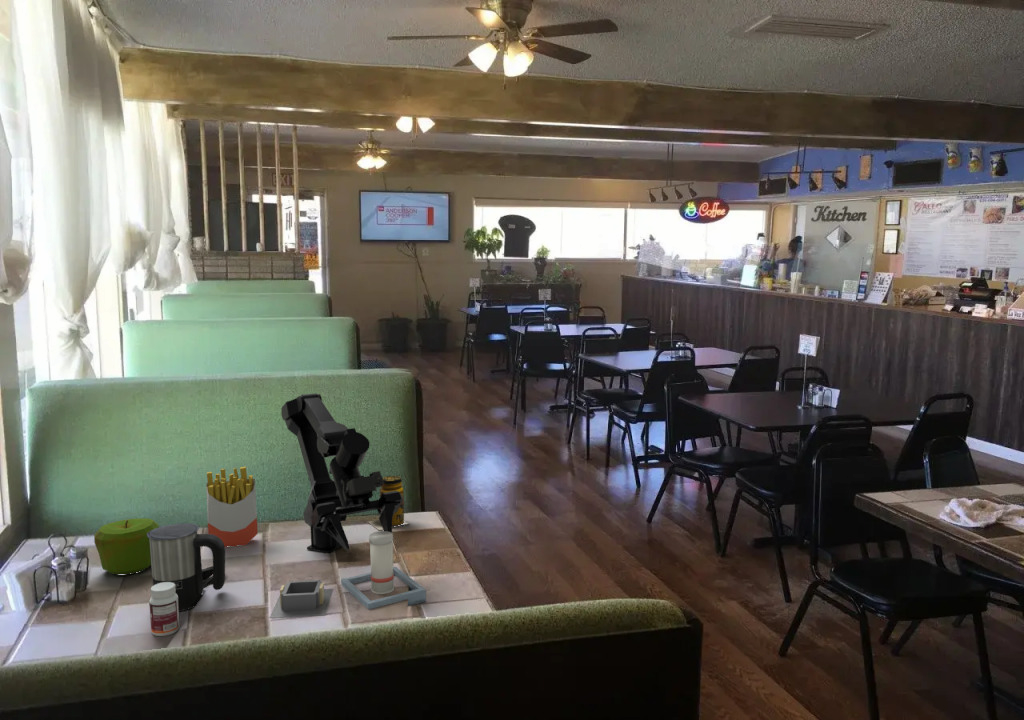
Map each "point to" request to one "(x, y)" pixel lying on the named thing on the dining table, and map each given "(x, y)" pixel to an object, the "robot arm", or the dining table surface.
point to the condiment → (390, 485)
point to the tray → (413, 595)
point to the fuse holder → (302, 599)
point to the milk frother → (186, 561)
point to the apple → (125, 545)
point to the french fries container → (232, 507)
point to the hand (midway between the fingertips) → (369, 545)
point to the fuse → (381, 562)
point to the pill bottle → (164, 609)
